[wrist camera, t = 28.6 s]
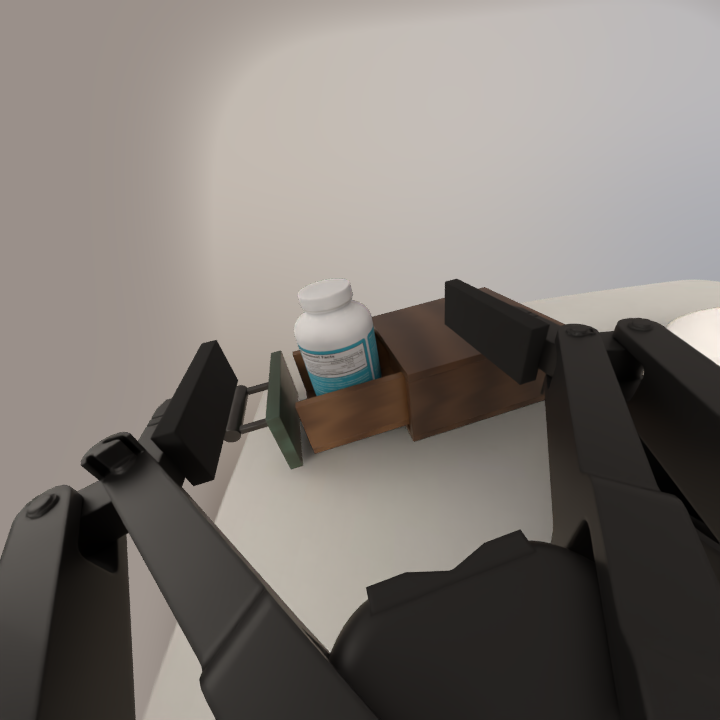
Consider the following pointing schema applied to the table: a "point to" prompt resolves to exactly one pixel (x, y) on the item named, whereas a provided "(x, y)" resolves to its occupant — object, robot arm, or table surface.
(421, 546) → the table surface
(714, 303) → the table surface
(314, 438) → the drawer
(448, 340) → the cabinet
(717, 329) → the bowl
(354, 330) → the pill bottle
